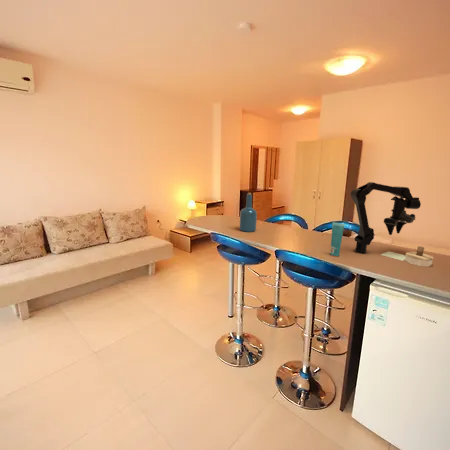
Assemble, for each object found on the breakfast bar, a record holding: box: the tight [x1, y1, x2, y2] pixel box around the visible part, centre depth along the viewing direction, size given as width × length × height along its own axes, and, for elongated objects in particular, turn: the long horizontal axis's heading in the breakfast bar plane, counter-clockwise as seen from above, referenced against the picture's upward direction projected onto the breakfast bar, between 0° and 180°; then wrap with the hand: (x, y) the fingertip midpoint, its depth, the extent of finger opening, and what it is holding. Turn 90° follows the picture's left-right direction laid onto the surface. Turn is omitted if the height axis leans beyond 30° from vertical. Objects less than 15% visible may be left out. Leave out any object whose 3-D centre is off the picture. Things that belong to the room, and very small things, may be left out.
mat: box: [380, 251, 406, 262], centre depth 154 cm, size 12×12×1 cm
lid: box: [405, 246, 434, 261], centre depth 142 cm, size 12×12×5 cm
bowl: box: [404, 254, 434, 268], centre depth 143 cm, size 11×11×4 cm
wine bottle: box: [239, 192, 258, 233], centre depth 205 cm, size 14×13×30 cm
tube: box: [329, 221, 346, 257], centre depth 152 cm, size 7×5×19 cm, turn 47°
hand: (394, 234), depth 157 cm, fingers open, 9 cm apart
